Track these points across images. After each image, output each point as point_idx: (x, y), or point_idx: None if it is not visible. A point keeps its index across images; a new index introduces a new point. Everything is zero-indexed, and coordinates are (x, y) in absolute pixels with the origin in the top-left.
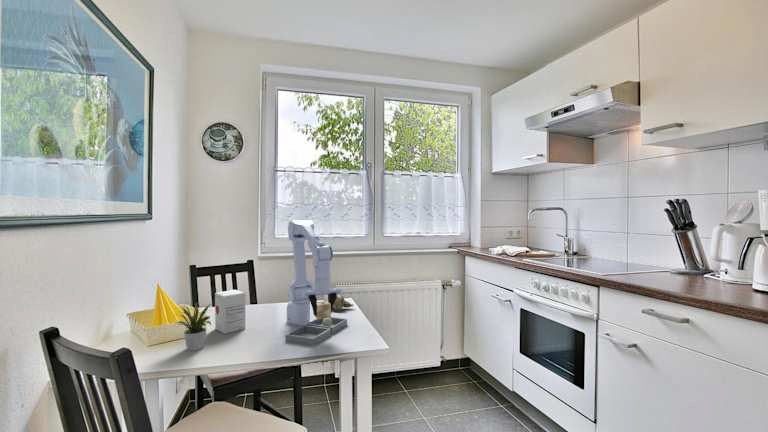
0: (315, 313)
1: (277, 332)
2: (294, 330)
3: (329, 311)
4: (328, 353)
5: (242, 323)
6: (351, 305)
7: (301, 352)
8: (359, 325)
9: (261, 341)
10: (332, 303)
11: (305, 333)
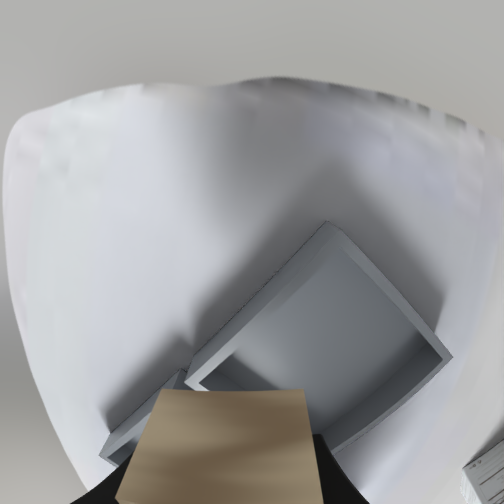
0: (320, 447)
1: (408, 446)
2: (394, 407)
3: (157, 433)
4: (258, 94)
5: (478, 474)
6: None
7: (401, 171)
8: (64, 416)
9: (487, 369)
10: (97, 502)
11: (320, 416)
